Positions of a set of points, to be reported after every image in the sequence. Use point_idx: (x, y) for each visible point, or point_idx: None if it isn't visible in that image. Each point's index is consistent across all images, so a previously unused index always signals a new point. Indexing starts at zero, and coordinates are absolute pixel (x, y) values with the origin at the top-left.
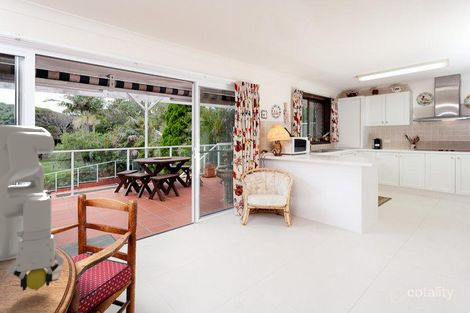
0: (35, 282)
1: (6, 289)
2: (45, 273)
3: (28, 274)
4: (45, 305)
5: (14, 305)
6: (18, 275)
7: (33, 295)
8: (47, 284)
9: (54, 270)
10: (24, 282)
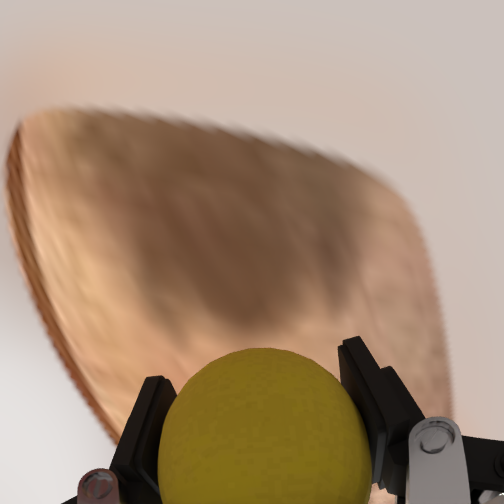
0: (232, 384)
1: (445, 400)
2: (161, 491)
3: (362, 489)
4: (96, 148)
5: (355, 204)
6: (472, 451)
7: (268, 326)
8: (151, 383)
9: None
10: (373, 394)
